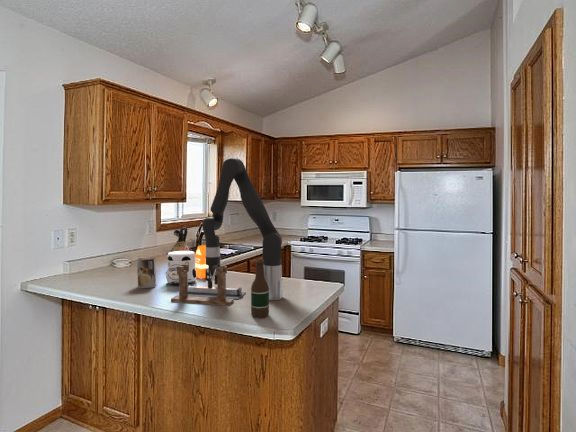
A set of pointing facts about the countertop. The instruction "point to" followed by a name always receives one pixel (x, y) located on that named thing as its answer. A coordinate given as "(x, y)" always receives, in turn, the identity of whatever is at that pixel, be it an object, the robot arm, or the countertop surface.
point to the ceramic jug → (180, 240)
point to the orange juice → (200, 261)
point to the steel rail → (214, 290)
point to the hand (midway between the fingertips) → (213, 286)
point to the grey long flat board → (214, 295)
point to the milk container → (177, 260)
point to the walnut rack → (202, 300)
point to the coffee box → (146, 272)
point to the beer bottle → (259, 293)
